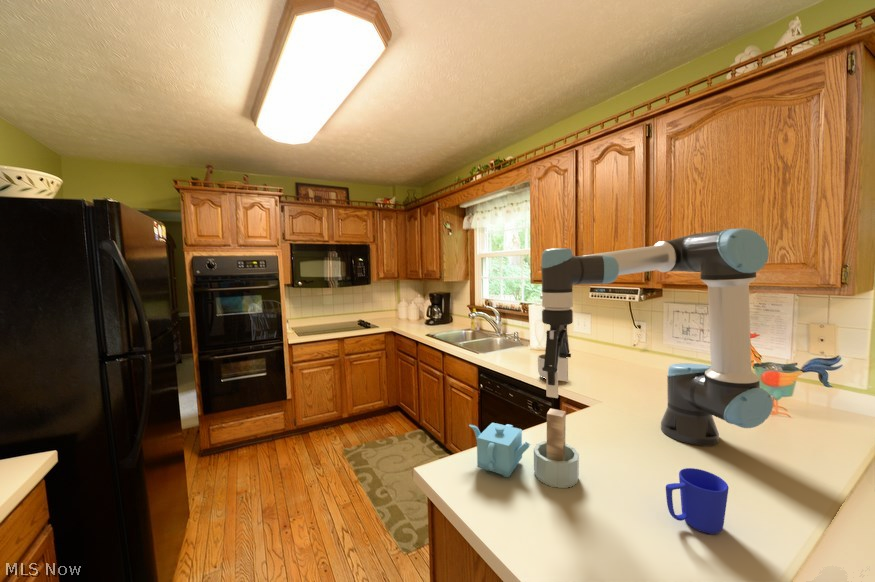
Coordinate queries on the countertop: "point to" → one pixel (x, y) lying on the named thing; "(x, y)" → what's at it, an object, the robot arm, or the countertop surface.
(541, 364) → the planter
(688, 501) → the mug
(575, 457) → the grey round bowl
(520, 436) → the teapot
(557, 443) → the wooden post
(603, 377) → the countertop surface
